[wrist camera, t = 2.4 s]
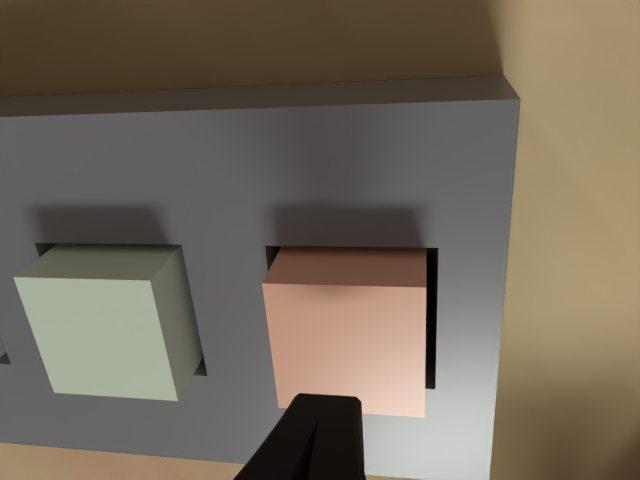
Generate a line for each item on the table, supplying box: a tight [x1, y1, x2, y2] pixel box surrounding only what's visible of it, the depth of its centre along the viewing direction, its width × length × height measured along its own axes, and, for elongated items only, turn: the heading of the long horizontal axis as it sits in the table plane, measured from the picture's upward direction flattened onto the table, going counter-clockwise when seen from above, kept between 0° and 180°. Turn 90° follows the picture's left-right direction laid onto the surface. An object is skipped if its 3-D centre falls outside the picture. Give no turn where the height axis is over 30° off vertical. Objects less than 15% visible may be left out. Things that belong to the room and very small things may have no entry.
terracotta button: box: [262, 246, 426, 418], centre depth 16 cm, size 4×4×3 cm
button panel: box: [0, 75, 520, 480], centre depth 18 cm, size 22×12×3 cm, turn 94°
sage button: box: [13, 243, 204, 401], centre depth 17 cm, size 4×4×3 cm
